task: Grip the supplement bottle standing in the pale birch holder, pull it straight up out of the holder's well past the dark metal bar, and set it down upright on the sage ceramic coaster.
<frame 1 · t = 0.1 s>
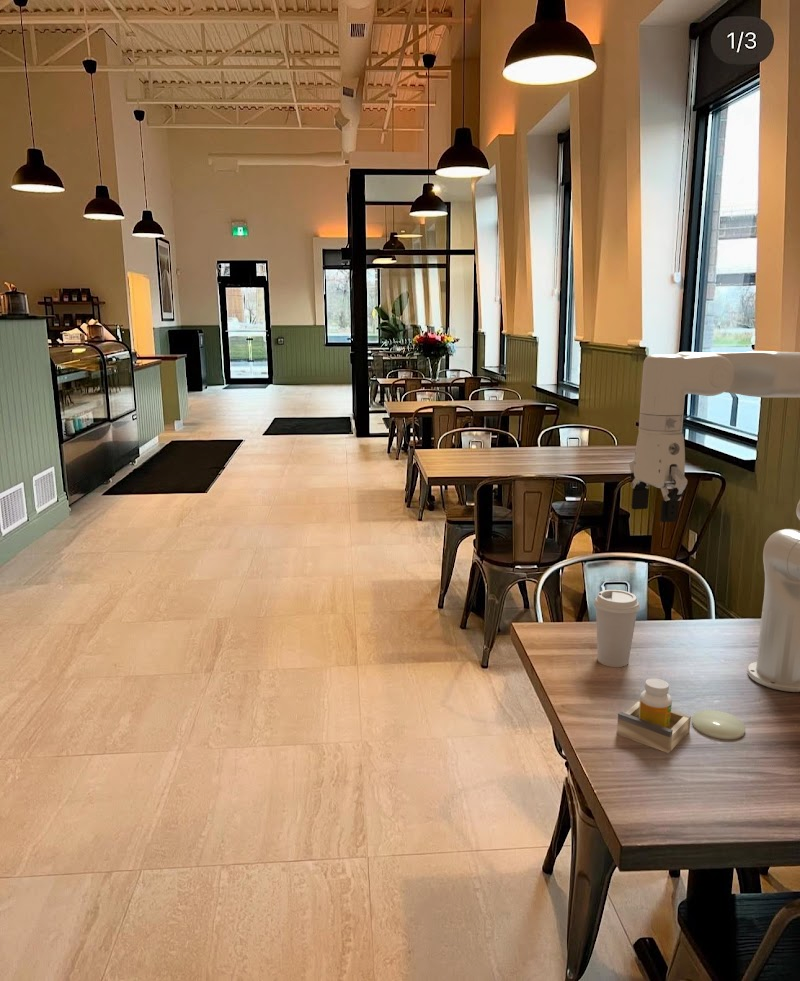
hand: (653, 514, 142), 37 cm above the table, tool pointing down, fingers open, 9 cm apart
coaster: (718, 726, 140), on the table
can holder: (653, 732, 138), on the table
coffee cup: (612, 661, 167), on the table
supplement bottle: (653, 733, 138), resting in can holder
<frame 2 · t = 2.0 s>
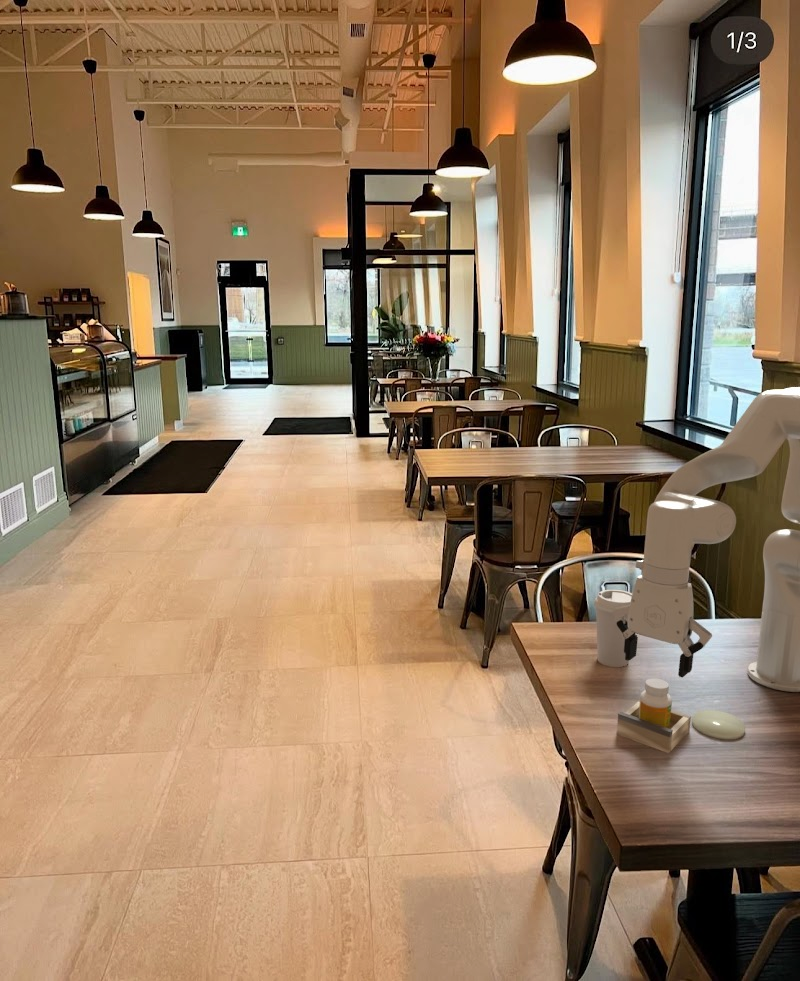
hand: (656, 666, 135), 13 cm above the table, tool pointing down, fingers open, 9 cm apart
nothing on the table moved.
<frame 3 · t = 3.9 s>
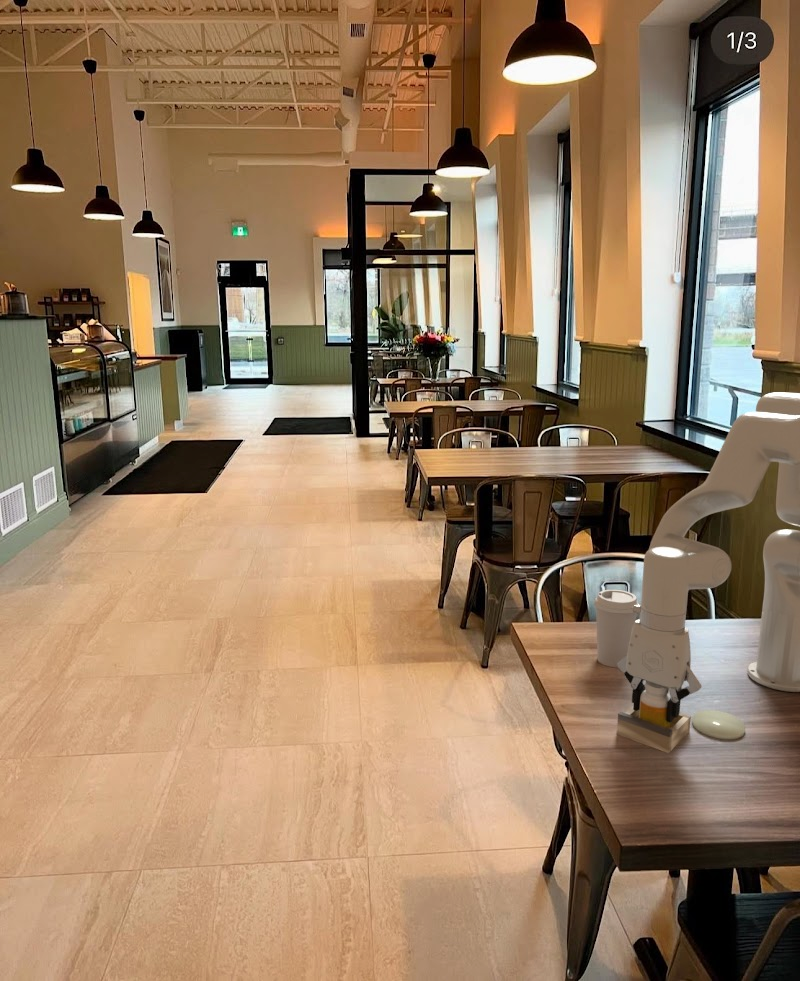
hand: (654, 712, 137), 4 cm above the table, tool pointing down, fingers closed on supplement bottle, 5 cm apart
supplement bottle: (653, 733, 138), resting in can holder, touching gripper
everything else where it was.
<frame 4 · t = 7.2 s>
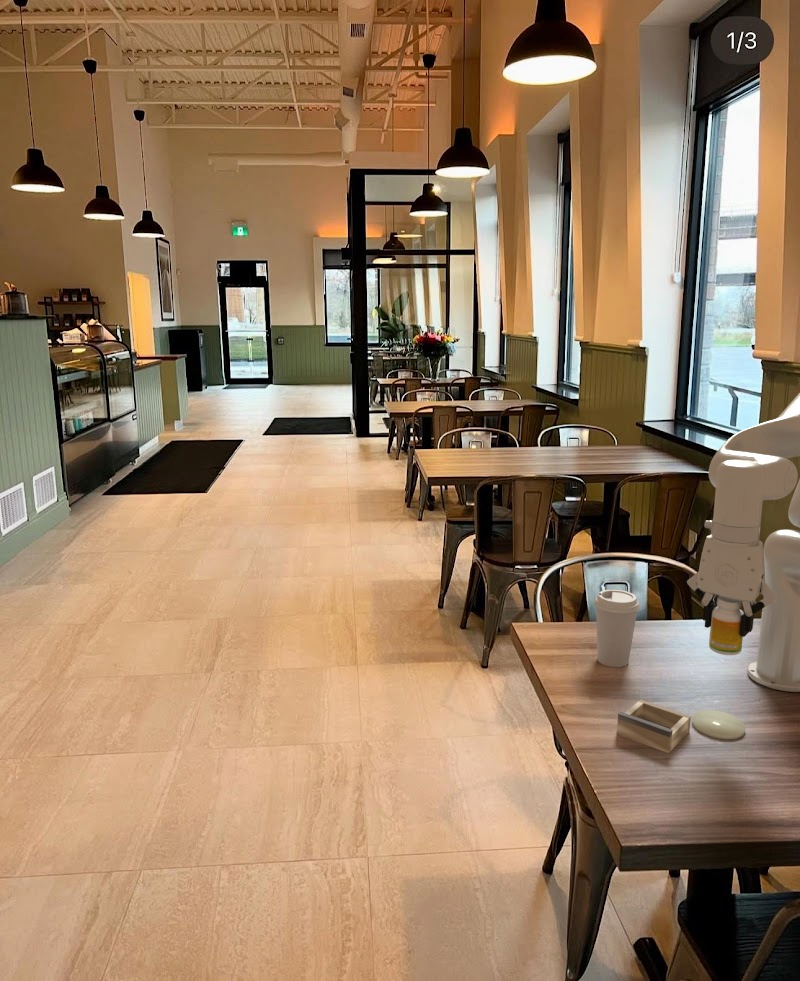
hand: (726, 628, 136), 19 cm above the table, tool pointing down, fingers closed on supplement bottle, 5 cm apart
supplement bottle: (724, 650, 137), point 15 cm above the table, touching gripper
everything else where it was.
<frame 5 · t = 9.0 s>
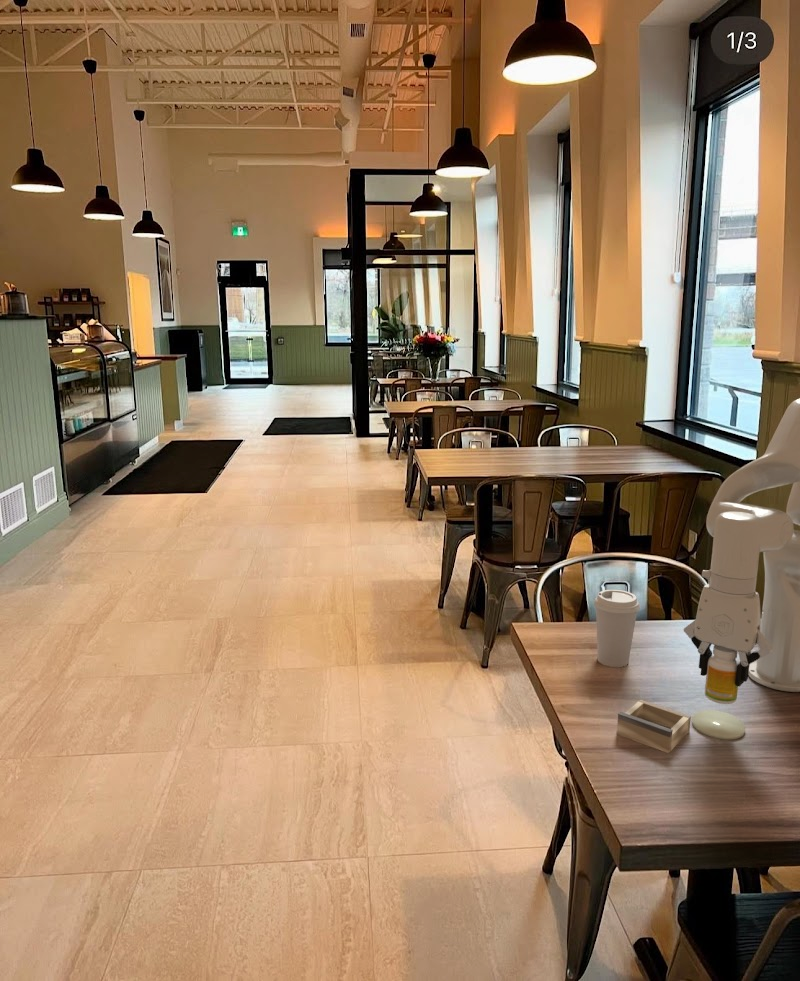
hand: (722, 677, 138), 10 cm above the table, tool pointing down, fingers closed on supplement bottle, 5 cm apart
supplement bottle: (720, 698, 139), point 6 cm above the table, touching gripper
everything else where it was.
when the fingers open (6 cm above the table, at t = 10.6 s): supplement bottle drops 1 cm, resting on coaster.
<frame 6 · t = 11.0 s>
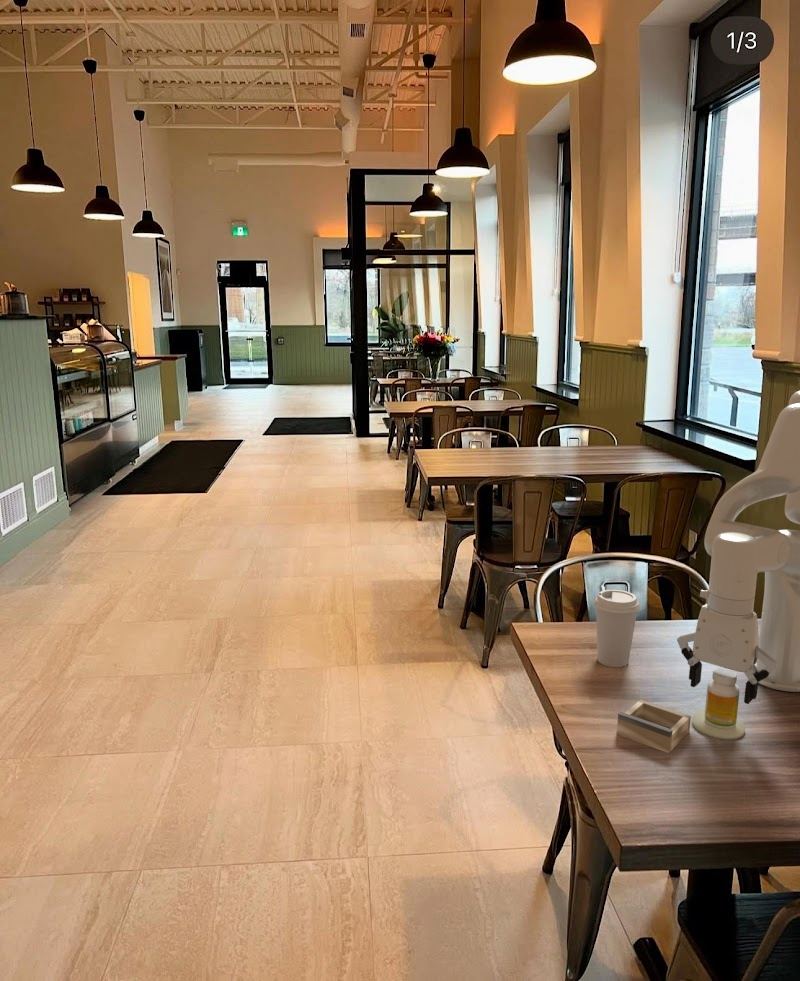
hand: (721, 692, 138), 7 cm above the table, tool pointing down, fingers open, 9 cm apart
supplement bottle: (719, 723, 140), point 1 cm above the table, touching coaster
everything else where it was.
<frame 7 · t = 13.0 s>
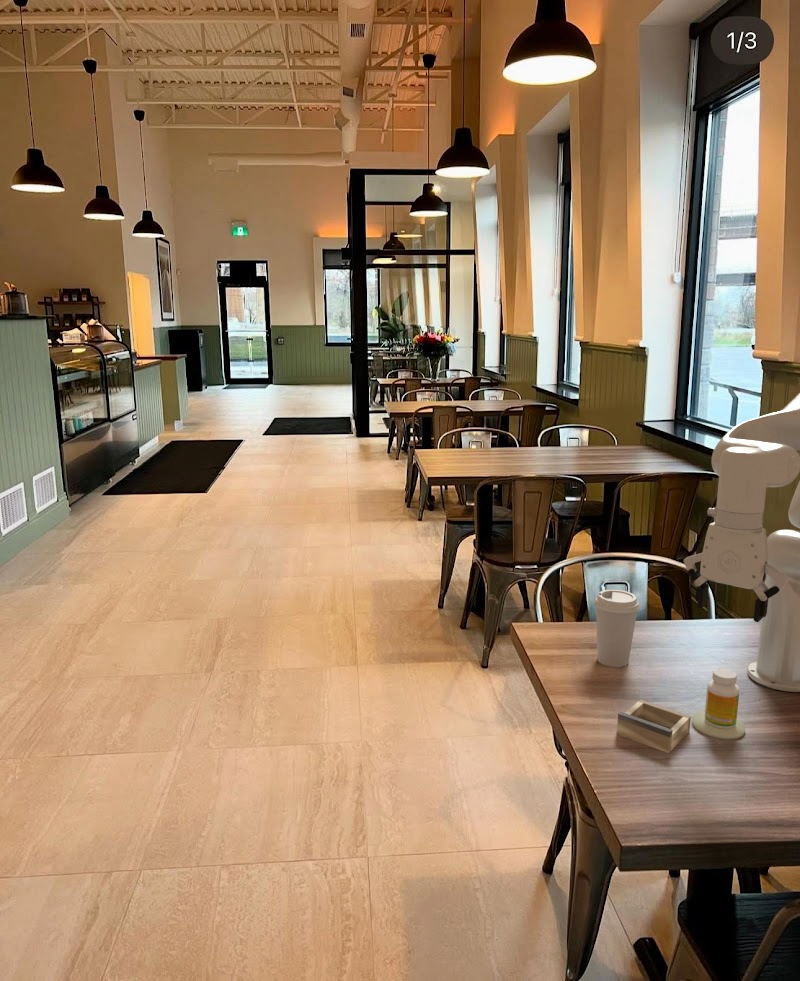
hand: (729, 612, 135), 22 cm above the table, tool pointing down, fingers open, 9 cm apart
nothing on the table moved.
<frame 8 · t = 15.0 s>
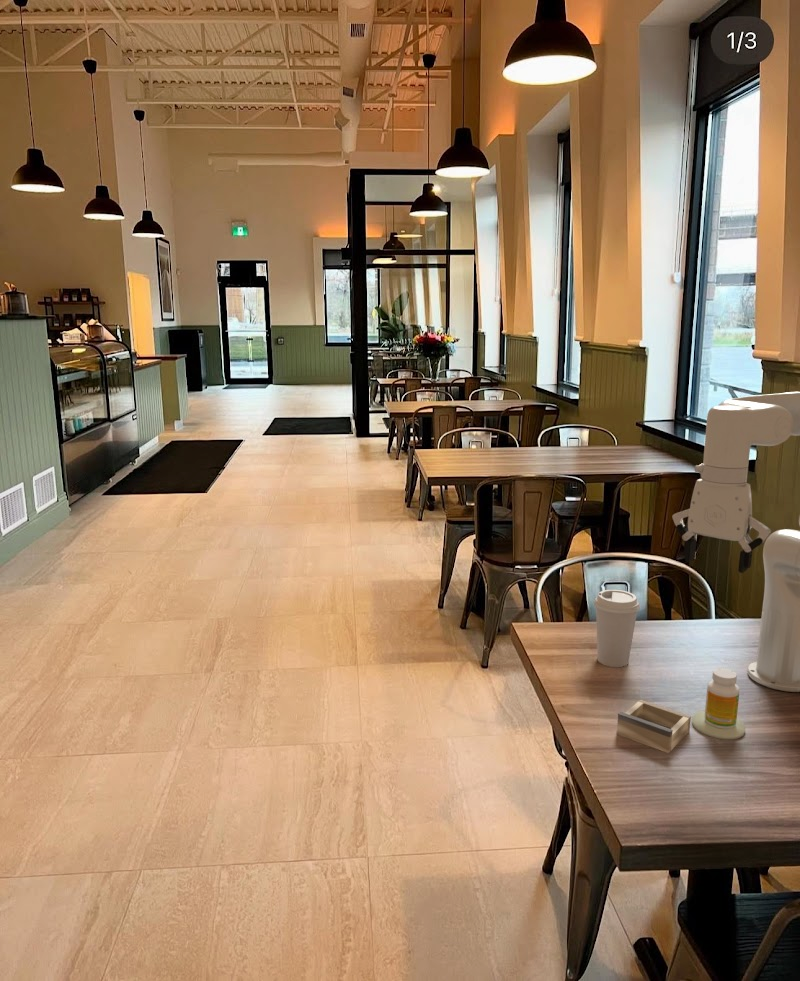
hand: (715, 565, 141), 28 cm above the table, tool pointing down, fingers open, 9 cm apart
nothing on the table moved.
at the end: supplement bottle 0.3 cm off-centre on the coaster, point 0.6 cm above the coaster's base; supplement bottle tilted 0°; the gripper is holding nothing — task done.
